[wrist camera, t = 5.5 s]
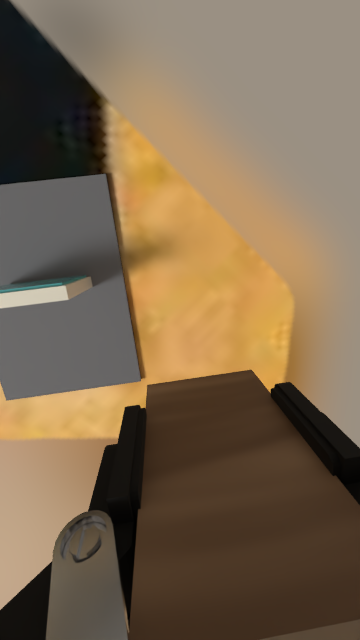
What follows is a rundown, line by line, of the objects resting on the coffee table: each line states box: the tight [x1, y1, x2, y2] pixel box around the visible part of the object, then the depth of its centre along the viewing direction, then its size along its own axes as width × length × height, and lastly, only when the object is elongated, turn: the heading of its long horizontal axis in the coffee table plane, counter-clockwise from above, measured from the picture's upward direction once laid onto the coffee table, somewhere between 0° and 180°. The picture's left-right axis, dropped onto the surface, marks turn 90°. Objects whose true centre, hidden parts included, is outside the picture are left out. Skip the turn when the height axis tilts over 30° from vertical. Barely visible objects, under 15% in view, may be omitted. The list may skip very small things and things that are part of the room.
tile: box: [0, 275, 93, 308], centre depth 21 cm, size 1×8×7 cm, turn 97°
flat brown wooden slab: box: [129, 370, 360, 640], centre depth 8 cm, size 2×5×10 cm, turn 97°
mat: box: [0, 174, 141, 400], centre depth 25 cm, size 20×14×1 cm
